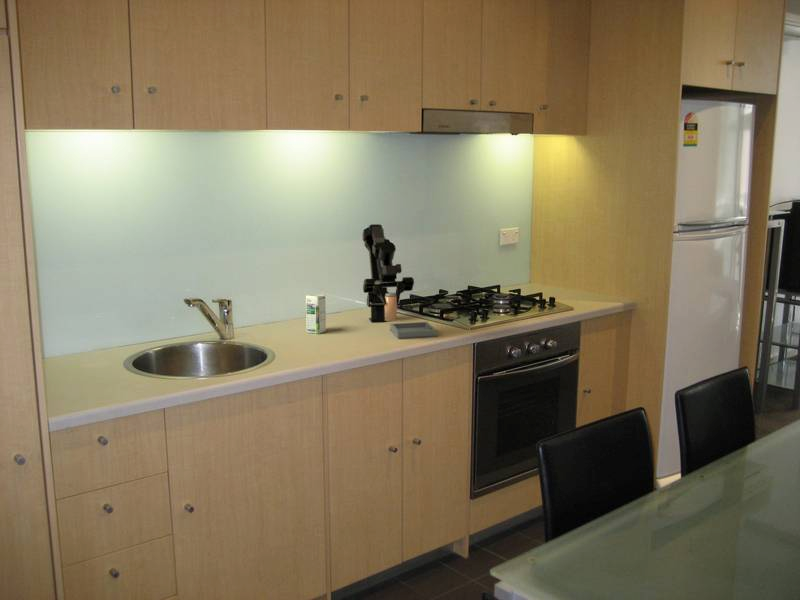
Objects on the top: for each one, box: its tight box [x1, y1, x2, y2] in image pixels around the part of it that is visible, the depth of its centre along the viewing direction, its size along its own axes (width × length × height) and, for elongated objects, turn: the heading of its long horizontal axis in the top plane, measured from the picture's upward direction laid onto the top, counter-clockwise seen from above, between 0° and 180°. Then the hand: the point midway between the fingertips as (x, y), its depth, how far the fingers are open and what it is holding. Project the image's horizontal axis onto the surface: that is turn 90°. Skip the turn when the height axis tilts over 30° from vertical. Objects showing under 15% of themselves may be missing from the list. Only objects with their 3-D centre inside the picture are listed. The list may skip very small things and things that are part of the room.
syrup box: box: [305, 294, 327, 335], centre depth 306 cm, size 6×6×14 cm
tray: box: [389, 321, 438, 340], centre depth 304 cm, size 15×15×2 cm
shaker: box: [384, 292, 398, 322], centre depth 295 cm, size 4×4×10 cm
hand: (391, 303), depth 293 cm, fingers closed on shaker, 4 cm apart
